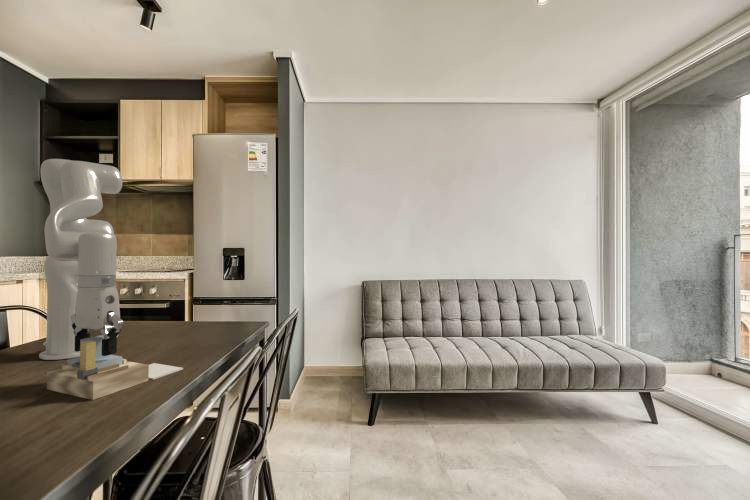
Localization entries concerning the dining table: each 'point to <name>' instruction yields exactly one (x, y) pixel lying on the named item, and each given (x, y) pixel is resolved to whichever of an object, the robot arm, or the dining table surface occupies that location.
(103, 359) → the cover
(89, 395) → the tan box base
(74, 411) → the dining table surface
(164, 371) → the mat
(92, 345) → the latch
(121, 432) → the dining table surface
